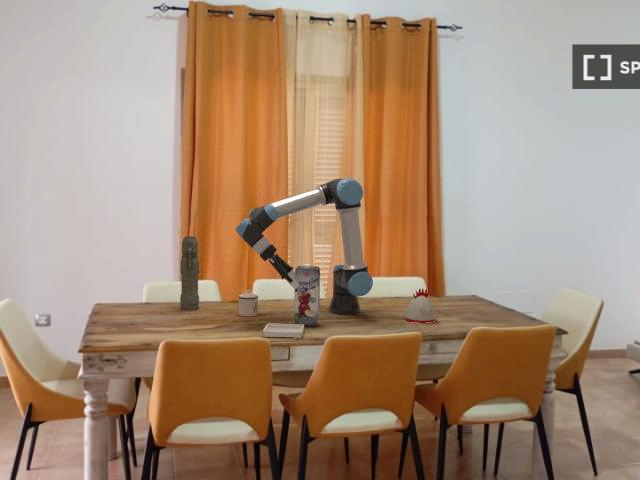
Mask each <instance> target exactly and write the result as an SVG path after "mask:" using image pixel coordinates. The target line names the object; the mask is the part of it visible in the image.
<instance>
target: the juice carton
mask: <svg viewBox="0 0 640 480" xmlns="http://www.w3.org/2000/svg"><path fill="white" fill-rule="evenodd" d="M294 272H295V281H296V282H297V283H298V284H299V286H298V287H297V288H296V289H294V296H293V297H294V302H293V304H294V305H293V313H294V314H293V319H294V324H304V326H306V328H307V327H308V328H315V327H316V326H317V324H318V323H319V319H320V311H321V310H320V308H321V307H320V306H321V299H320V298H321V268H320V266H318V265H317V266H315V265H314V266H313V265H311V264H310V263H305V264H303V265H299V266H297V267H295V271H294Z"/></svg>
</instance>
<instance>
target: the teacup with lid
mask: <svg viewBox="0 0 640 480" xmlns="http://www.w3.org/2000/svg"><path fill="white" fill-rule="evenodd" d="M238 298H239V299H238V316H241V317H246V318H247V317H256V316H257V315H258V309H259V308H258V307H259V306H258V305H259V303H258V301H259V300H258V299H259V296H258V294H255V293H254V292H252V291H251V290H250V289H246V291H245V292H243V293H242V294H241V293H240V294H239V295H238Z"/></svg>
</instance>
